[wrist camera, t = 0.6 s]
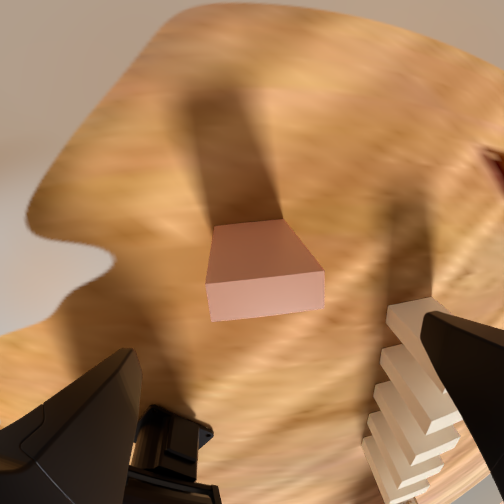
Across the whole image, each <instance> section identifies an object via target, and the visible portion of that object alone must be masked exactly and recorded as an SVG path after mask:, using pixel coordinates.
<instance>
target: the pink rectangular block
mask: <svg viewBox="0 0 504 504" xmlns="http://www.w3.org/2000/svg"><path fill="white" fill-rule="evenodd" d="M205 285H206V292H207V298H208V304H209V310H210V316H211V322H216V321H226V320H236V319H245V318H254V317H263V316H272V315H280V314H288V313H295V312H303V311H310V310H317V309H324V287H325V271H324V269H323V268H322V267H321V266H320V264H319V263H318V262H317V260H316V259H315V258H314V257H313V255H312V254H311V253H310V251H309V250H308V249H307V248H306V246H305V245H304V244H303V243H302V241H301V240H300V239H299V237H298V236H297V235H296V234H295V232H294V231H293V230H292V229H291V227H290V226H289V225H288V224H287V222H286V221H285V220H284V219H278V220H267V221H257V222H247V223H238V224H228V225H219V226H214V232H213V238H212V244H211V250H210V257H209V263H208V269H207V276H206V283H205Z"/></svg>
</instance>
